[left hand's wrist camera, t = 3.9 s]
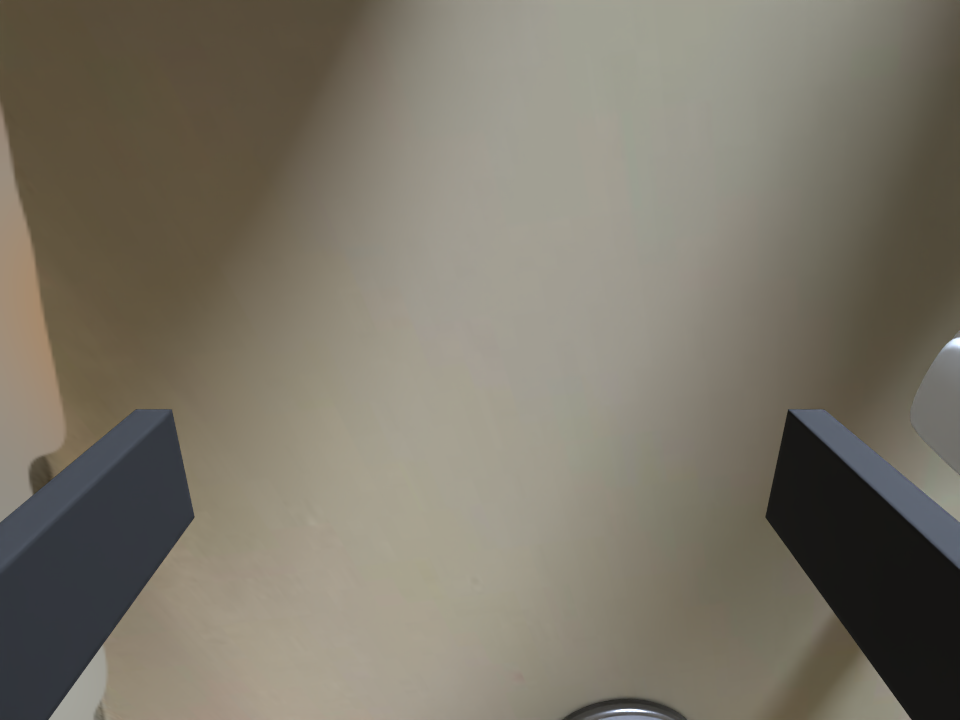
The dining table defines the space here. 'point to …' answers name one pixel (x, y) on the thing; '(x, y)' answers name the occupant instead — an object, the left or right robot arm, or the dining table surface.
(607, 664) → the dining table surface
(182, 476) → the left robot arm
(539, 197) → the dining table surface
